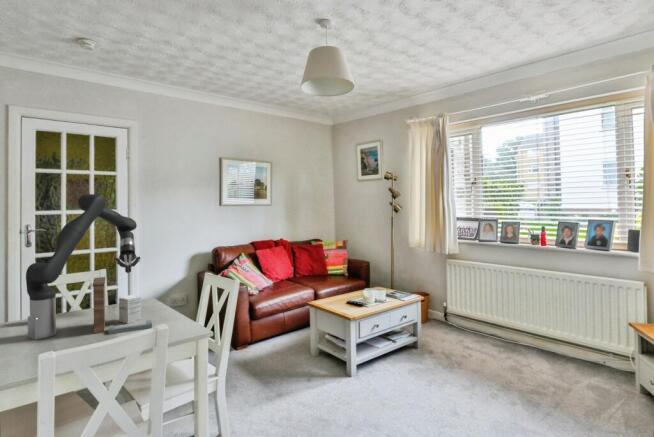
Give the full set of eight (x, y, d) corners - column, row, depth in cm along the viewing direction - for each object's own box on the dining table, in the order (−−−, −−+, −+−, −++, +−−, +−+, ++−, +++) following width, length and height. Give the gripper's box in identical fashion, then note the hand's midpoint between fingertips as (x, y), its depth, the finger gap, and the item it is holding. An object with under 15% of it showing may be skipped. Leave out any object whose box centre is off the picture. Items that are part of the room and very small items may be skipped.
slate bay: (109, 329, 170) (109, 325, 170) (151, 323, 179) (150, 319, 179) (108, 334, 164) (108, 330, 164) (152, 328, 173) (152, 323, 173)
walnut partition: (104, 332, 166) (104, 283, 166) (93, 334, 164) (92, 284, 163) (105, 322, 181) (105, 277, 180) (95, 323, 178) (94, 277, 178)
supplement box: (118, 321, 182) (118, 297, 181) (132, 317, 188) (132, 294, 188) (127, 324, 178) (127, 299, 178) (141, 320, 185) (141, 296, 184)
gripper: (113, 244, 200) (114, 269, 190) (140, 242, 207) (142, 267, 197) (114, 252, 205) (114, 277, 195) (140, 250, 212) (141, 275, 201)
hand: (128, 272), depth 196 cm, fingers closed
